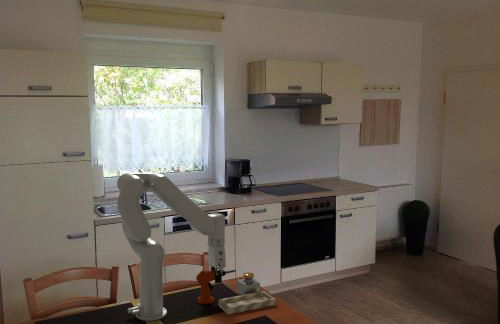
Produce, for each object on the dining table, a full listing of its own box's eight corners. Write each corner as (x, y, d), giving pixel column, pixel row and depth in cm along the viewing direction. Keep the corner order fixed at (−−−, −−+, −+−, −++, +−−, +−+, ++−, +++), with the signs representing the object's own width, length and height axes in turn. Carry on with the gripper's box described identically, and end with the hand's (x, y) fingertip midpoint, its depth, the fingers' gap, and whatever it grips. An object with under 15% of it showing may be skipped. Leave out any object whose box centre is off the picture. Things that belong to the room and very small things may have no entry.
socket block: (244, 298, 210) (244, 285, 209) (237, 292, 217) (237, 280, 216) (259, 295, 213) (260, 283, 213) (251, 289, 220) (252, 277, 220)
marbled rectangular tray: (227, 314, 192) (228, 308, 192) (218, 305, 201) (218, 299, 201) (275, 304, 203) (275, 298, 202) (264, 296, 212) (264, 291, 211)
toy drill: (239, 297, 207) (236, 266, 204) (198, 306, 202) (194, 274, 200) (237, 293, 211) (233, 262, 209) (197, 301, 207) (193, 270, 205)
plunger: (245, 295, 212) (246, 276, 211) (241, 292, 216) (241, 273, 215) (255, 294, 214) (255, 275, 213) (250, 290, 218) (250, 271, 217)
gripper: (231, 245, 198) (231, 286, 200) (216, 236, 213) (216, 274, 215) (215, 247, 195) (215, 288, 196) (201, 237, 210) (201, 276, 211)
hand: (216, 280), depth 206 cm, fingers closed on toy drill, 4 cm apart
